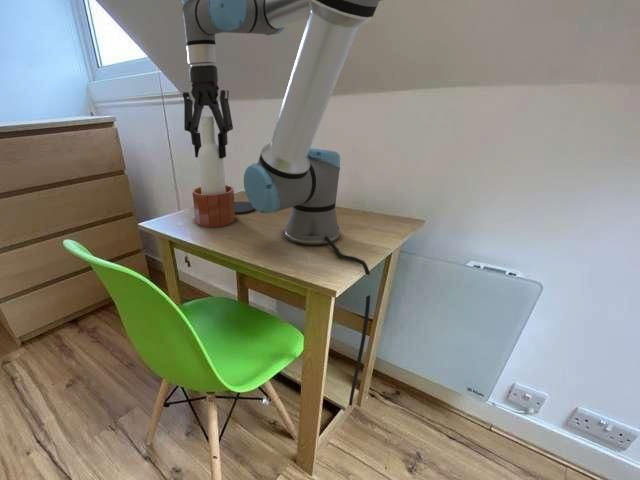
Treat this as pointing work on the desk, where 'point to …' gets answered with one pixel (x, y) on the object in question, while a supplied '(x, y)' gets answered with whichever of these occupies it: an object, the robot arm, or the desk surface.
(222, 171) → the bottle
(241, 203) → the coaster
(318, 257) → the desk surface
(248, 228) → the desk surface
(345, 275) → the desk surface
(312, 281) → the desk surface
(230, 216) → the reddish brown pot
